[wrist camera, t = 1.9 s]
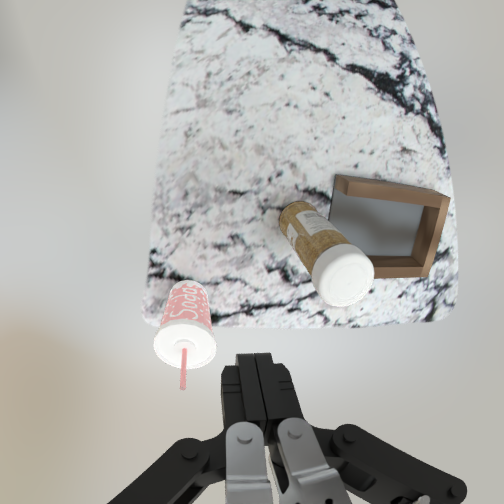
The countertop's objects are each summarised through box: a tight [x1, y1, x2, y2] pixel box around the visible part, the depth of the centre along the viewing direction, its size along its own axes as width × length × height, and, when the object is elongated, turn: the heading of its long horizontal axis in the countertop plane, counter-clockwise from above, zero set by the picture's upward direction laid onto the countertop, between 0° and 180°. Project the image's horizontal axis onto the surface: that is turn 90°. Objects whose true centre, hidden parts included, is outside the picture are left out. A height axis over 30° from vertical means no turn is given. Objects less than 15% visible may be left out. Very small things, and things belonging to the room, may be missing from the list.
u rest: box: [328, 174, 450, 279], centre depth 32 cm, size 11×15×4 cm
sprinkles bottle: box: [279, 201, 374, 307], centre depth 26 cm, size 5×5×14 cm
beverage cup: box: [154, 280, 217, 390], centre depth 28 cm, size 6×6×14 cm
